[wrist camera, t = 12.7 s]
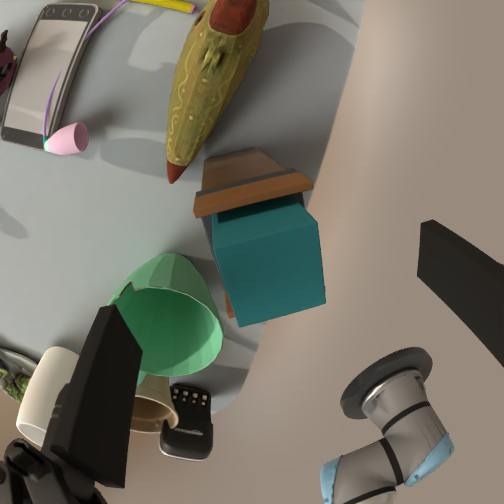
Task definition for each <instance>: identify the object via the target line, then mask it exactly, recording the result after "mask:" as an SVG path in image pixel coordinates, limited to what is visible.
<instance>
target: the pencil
mask: <svg viewBox="0 0 504 504" xmlns="http://www.w3.org/2000/svg"><path fill="white" fill-rule="evenodd" d="M129 1H136V2H142V3H147V4H153V5H158V6H162V7H167V8H171V9H175V10H179V11H183V12H187V13H191V14H193V13H194V11H195V9H196V7H197V5H195V4H191V3H188V2H184V1H179V0H129Z"/></svg>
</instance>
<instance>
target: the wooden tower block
mask: <svg viewBox="0 0 504 504" xmlns="http://www.w3.org/2000/svg"><path fill="white" fill-rule="evenodd" d="M282 170H286V169H285V168H283V167H282V166H280V165H279V164H278V163H276V162H275V161H274V160H272V159H271V158H269V157H268V156H267V155H265V154H264V153H262V152H261V151H260V150H258V149H257V148H250V149H246V150H242V151H238V152H233V153H229V154H225V155H222V156H218V157H214V158H210V159H206V160H204V169H203V179H202V189H201V191H202V190H206V189H210V188H213V187H217V186H221V185H224V184H228V183H232V182H236V181H240V180H244V179H248V178H252V177H256V176H261V175H265V174H269V173H274V172H278V171H282Z"/></svg>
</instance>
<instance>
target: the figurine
mask: <svg viewBox="0 0 504 504" xmlns="http://www.w3.org/2000/svg"><path fill="white" fill-rule="evenodd" d="M7 32H8V30H5V31H4V32H3V33H2V34H1V40H0V97H1V95H2V94H3V93H4V91H5V90H6V89H7V87H8V85H9V84H10V82H11V79H12V76H13V74H14V70H15V61H16V60H17V57H16V56H14V54H13V52H12V51H11V49H10V48H8V47H7V46H6V43H5V42H6V40H7Z"/></svg>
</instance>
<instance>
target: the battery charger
mask: <svg viewBox="0 0 504 504" xmlns="http://www.w3.org/2000/svg"><path fill="white" fill-rule="evenodd" d="M170 394H171V400H172V403H173V405H174V408H175V411H176V412H177V414H178V418H179V421H178V424H177V426H176V427H174V428H173V429H171V428H170V427H169V424H168V421H167V419H164V421H163V424H162V429H161V433H160V434H159V448H160V450H161V452H162V453H163V454H164V455H166V456H168V457H172V458H176V459H181V460H188V461H194V462H201V461H204V460H206V459H207V458H208V457H209V456H208V455H210V452H211V450H212V447H213V424H212V423H211V394H210V393H209V392H207V391H203V390H199V389H195V388H190V387H185V386H180V385H172V386H170Z"/></svg>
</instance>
